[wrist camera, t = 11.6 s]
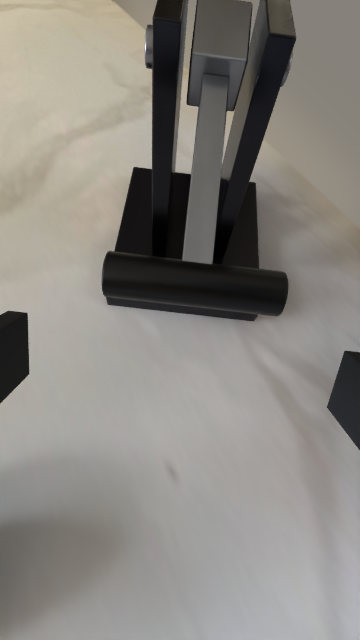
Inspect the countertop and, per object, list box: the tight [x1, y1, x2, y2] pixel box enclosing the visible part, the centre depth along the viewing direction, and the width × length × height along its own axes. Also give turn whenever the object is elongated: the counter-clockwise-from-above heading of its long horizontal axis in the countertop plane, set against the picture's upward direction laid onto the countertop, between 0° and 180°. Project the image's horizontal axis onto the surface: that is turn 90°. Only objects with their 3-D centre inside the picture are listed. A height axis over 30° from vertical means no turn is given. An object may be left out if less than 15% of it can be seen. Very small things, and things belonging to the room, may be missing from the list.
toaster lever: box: [102, 0, 288, 316], centre depth 13 cm, size 12×6×2 cm, turn 174°
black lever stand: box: [106, 0, 296, 321], centre depth 18 cm, size 12×10×14 cm
